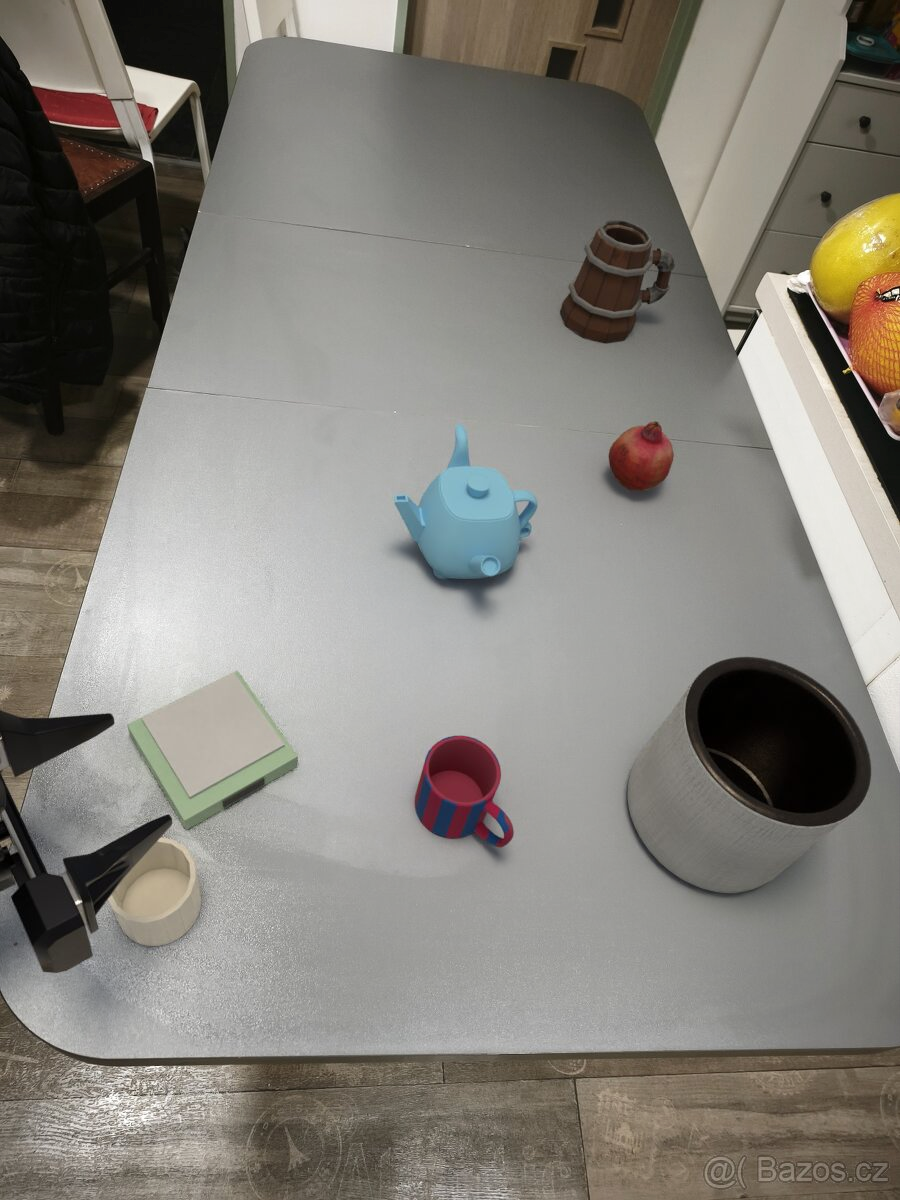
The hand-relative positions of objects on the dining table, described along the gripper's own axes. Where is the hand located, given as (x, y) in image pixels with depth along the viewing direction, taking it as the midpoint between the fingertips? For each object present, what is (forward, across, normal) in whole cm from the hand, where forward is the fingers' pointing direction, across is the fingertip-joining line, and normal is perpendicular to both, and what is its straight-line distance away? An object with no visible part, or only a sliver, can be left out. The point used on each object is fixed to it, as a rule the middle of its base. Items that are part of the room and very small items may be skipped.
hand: (141, 767), depth 57 cm
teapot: (+44, +15, +11) cm, 48 cm away
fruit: (+72, +13, +9) cm, 73 cm away
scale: (+9, +6, +14) cm, 18 cm away
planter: (+44, -24, +12) cm, 52 cm away
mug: (+96, +42, +6) cm, 105 cm away
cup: (+24, -11, +14) cm, 30 cm away
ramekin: (-1, -4, +16) cm, 16 cm away
